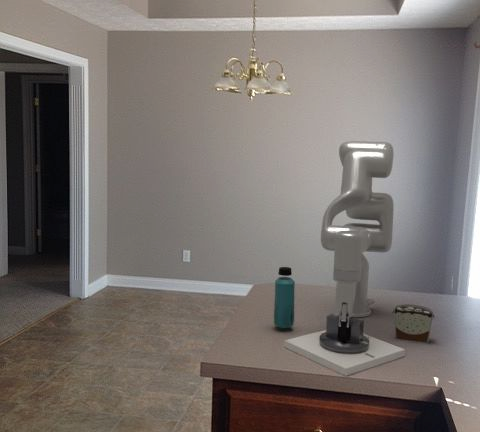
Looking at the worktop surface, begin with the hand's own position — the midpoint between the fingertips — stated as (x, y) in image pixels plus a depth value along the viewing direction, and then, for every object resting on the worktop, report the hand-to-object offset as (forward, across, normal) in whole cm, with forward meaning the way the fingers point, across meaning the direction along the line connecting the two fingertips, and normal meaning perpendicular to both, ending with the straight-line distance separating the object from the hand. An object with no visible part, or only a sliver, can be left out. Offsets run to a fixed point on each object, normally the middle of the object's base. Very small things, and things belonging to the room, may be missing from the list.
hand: (343, 336), depth 161 cm
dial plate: (+4, 0, 0) cm, 4 cm away
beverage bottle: (+5, -14, -20) cm, 24 cm away
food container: (+5, -17, +20) cm, 27 cm away
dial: (+2, 0, 0) cm, 2 cm away
